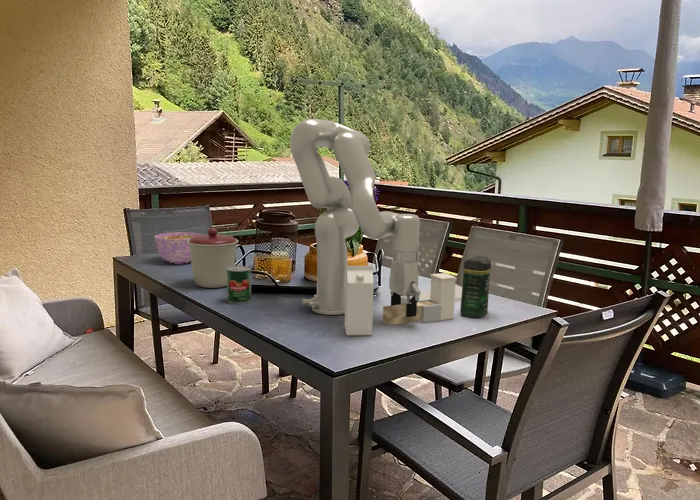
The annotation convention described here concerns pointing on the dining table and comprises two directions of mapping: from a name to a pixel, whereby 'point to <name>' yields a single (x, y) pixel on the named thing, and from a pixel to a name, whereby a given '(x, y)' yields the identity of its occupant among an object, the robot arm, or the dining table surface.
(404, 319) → the birch rail
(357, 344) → the dining table surface
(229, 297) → the canned tomato
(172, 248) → the bowl of food
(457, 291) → the crown molding
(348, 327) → the milk carton
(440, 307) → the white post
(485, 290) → the coffee jar
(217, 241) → the canister
